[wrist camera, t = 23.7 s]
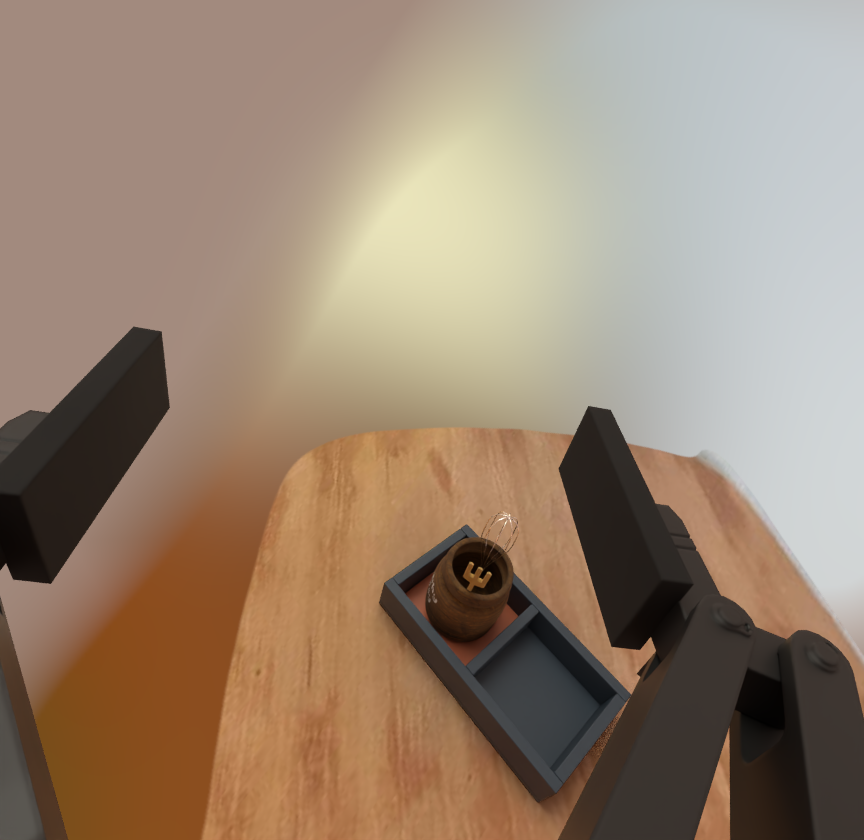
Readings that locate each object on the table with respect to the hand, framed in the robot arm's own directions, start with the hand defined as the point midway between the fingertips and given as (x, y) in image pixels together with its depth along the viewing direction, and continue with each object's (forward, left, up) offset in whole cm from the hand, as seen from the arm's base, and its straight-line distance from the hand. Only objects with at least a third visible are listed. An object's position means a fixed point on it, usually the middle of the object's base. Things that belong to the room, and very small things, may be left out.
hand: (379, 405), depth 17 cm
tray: (+5, +11, -29) cm, 32 cm away
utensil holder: (+1, +11, -29) cm, 31 cm away
